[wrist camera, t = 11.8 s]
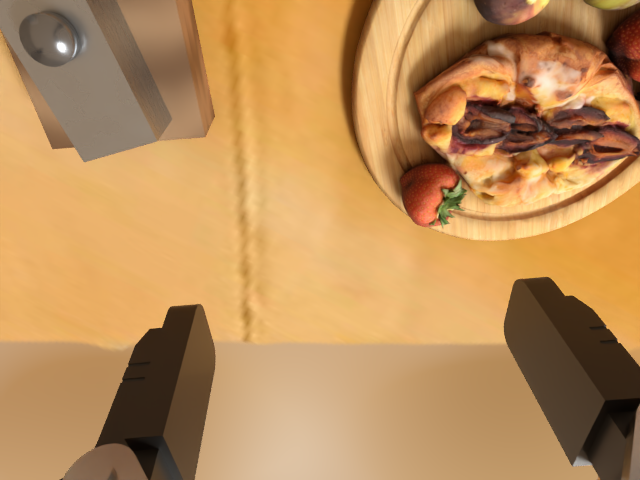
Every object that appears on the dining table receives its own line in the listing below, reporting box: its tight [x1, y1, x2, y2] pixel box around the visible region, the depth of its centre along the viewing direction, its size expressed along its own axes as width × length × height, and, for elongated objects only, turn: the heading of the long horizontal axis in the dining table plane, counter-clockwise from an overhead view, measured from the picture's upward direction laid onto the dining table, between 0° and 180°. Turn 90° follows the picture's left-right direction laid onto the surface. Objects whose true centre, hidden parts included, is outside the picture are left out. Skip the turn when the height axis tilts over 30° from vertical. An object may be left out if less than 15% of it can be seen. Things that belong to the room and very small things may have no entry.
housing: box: [0, 0, 172, 162], centre depth 29 cm, size 10×6×6 cm, turn 15°
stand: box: [2, 0, 215, 149], centre depth 33 cm, size 12×12×5 cm
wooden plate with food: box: [352, 0, 640, 241], centre depth 35 cm, size 32×32×8 cm
